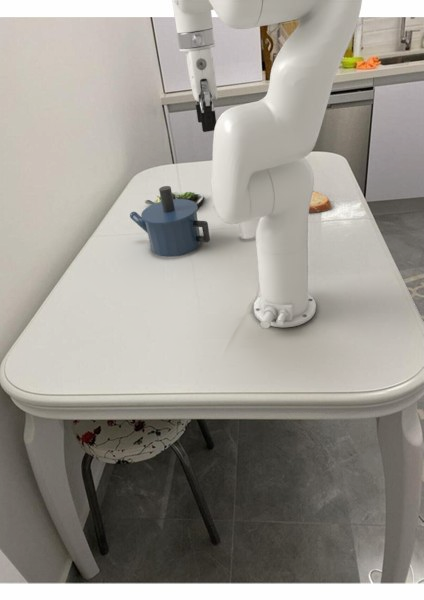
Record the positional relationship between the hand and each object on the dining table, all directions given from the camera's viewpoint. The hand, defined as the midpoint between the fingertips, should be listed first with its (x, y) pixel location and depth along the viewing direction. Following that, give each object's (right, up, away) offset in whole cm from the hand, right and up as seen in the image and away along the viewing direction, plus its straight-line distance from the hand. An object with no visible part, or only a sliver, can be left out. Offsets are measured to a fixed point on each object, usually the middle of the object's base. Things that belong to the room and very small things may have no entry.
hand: (207, 125), depth 101 cm
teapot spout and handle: (-10, -24, +18) cm, 31 cm away
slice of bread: (+27, -11, +32) cm, 44 cm away
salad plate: (-10, -10, +42) cm, 44 cm away
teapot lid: (-10, -17, +13) cm, 24 cm away
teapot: (-9, -26, +19) cm, 33 cm away
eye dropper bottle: (+12, -23, +17) cm, 32 cm away
